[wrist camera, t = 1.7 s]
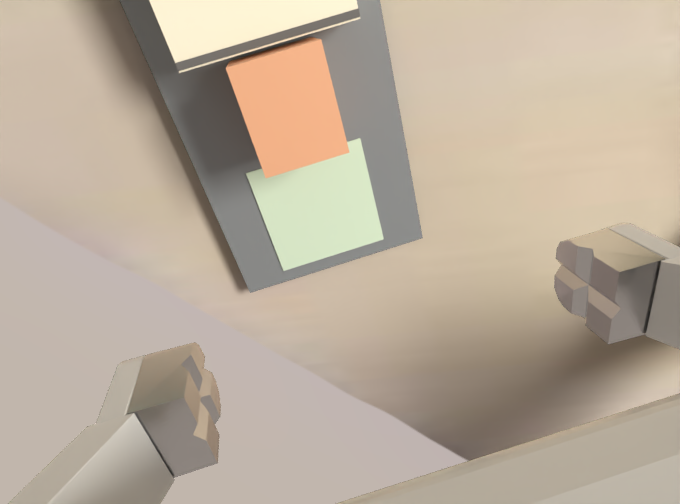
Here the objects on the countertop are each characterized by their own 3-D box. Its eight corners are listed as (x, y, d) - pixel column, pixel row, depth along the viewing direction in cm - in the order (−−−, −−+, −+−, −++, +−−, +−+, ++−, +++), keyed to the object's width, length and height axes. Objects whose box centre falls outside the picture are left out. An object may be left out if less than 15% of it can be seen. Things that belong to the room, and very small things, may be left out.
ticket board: (301, -403, 19) (312, -504, 15) (418, 232, 34) (437, 256, 31) (-17, -318, 18) (-83, -401, 15) (250, 285, 34) (249, 316, 30)
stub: (310, 36, 26) (321, 39, 22) (336, 134, 28) (349, 152, 25) (229, 61, 25) (225, 68, 21) (264, 156, 28) (265, 178, 24)
